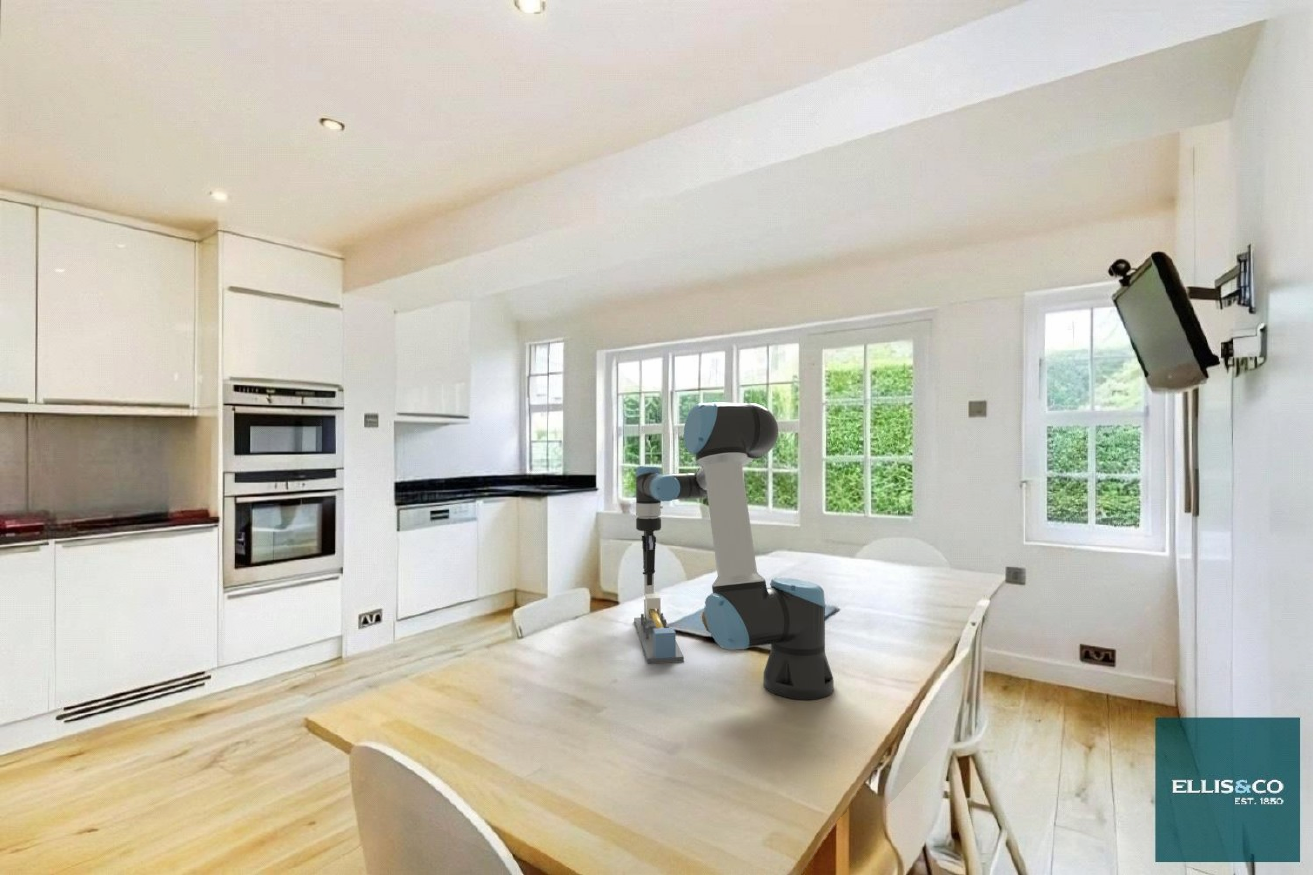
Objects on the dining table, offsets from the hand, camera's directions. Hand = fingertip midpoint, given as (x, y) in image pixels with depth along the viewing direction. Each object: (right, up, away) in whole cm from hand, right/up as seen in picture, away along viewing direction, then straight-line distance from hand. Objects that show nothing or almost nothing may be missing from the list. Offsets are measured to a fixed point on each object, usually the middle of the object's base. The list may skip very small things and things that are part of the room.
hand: (649, 594), depth 181 cm
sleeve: (+1, -4, -9) cm, 10 cm away
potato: (+21, -8, -16) cm, 28 cm away
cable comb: (+2, -8, -17) cm, 19 cm away
